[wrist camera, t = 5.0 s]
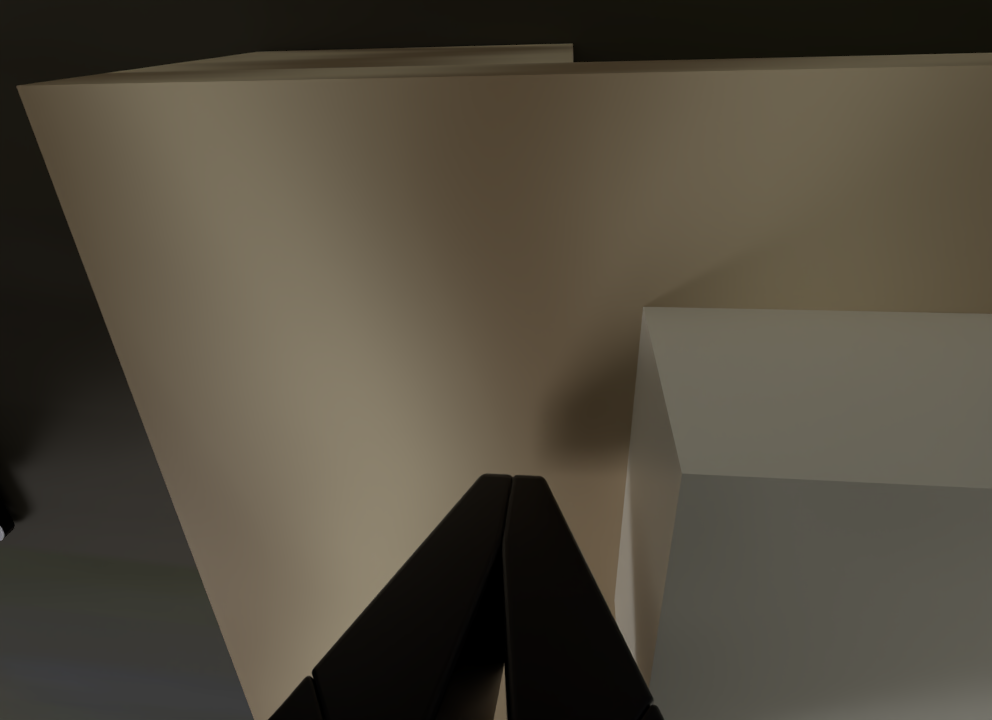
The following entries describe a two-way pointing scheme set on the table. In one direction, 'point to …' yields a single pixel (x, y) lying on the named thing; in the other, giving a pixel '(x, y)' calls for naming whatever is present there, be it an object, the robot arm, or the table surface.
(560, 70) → the beige elongated piece
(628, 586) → the light grey block
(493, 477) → the robot arm
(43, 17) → the table surface
